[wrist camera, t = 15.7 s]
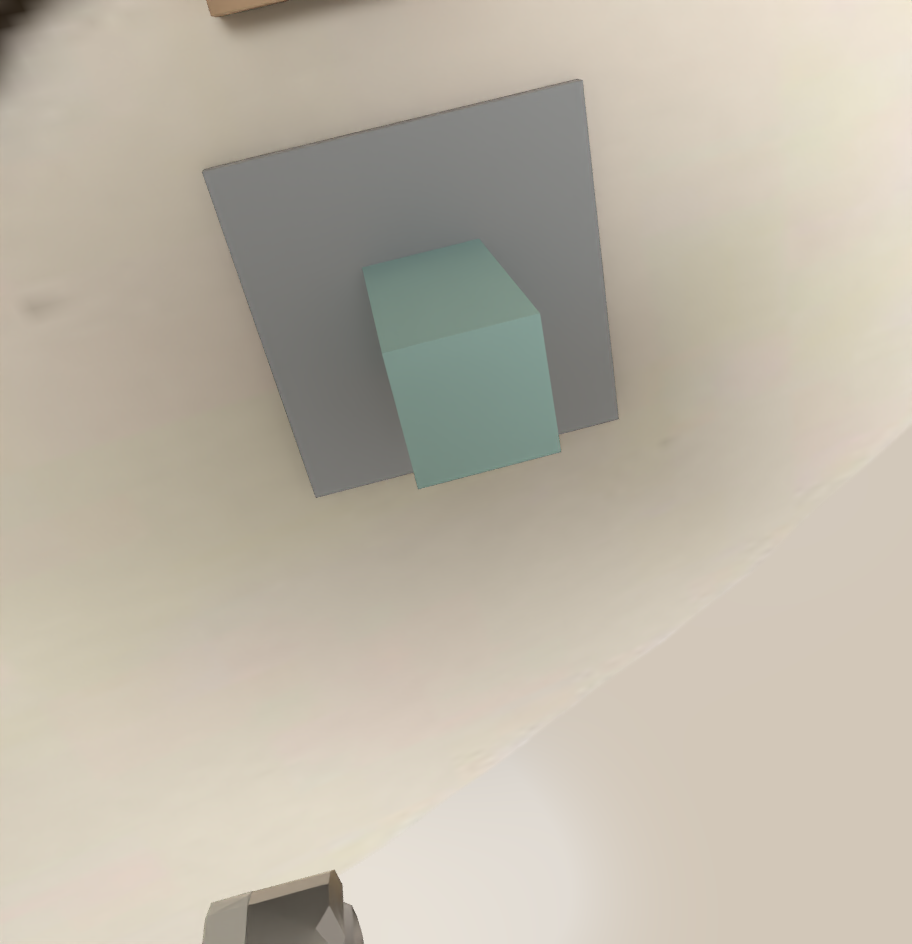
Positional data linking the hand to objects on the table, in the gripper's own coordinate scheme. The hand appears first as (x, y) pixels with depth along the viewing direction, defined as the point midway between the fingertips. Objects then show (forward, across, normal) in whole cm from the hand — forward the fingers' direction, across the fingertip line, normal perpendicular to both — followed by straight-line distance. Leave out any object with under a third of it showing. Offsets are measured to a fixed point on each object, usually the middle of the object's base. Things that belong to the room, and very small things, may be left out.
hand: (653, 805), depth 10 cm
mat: (+21, 0, 0) cm, 21 cm away
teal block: (+20, 0, 0) cm, 20 cm away
